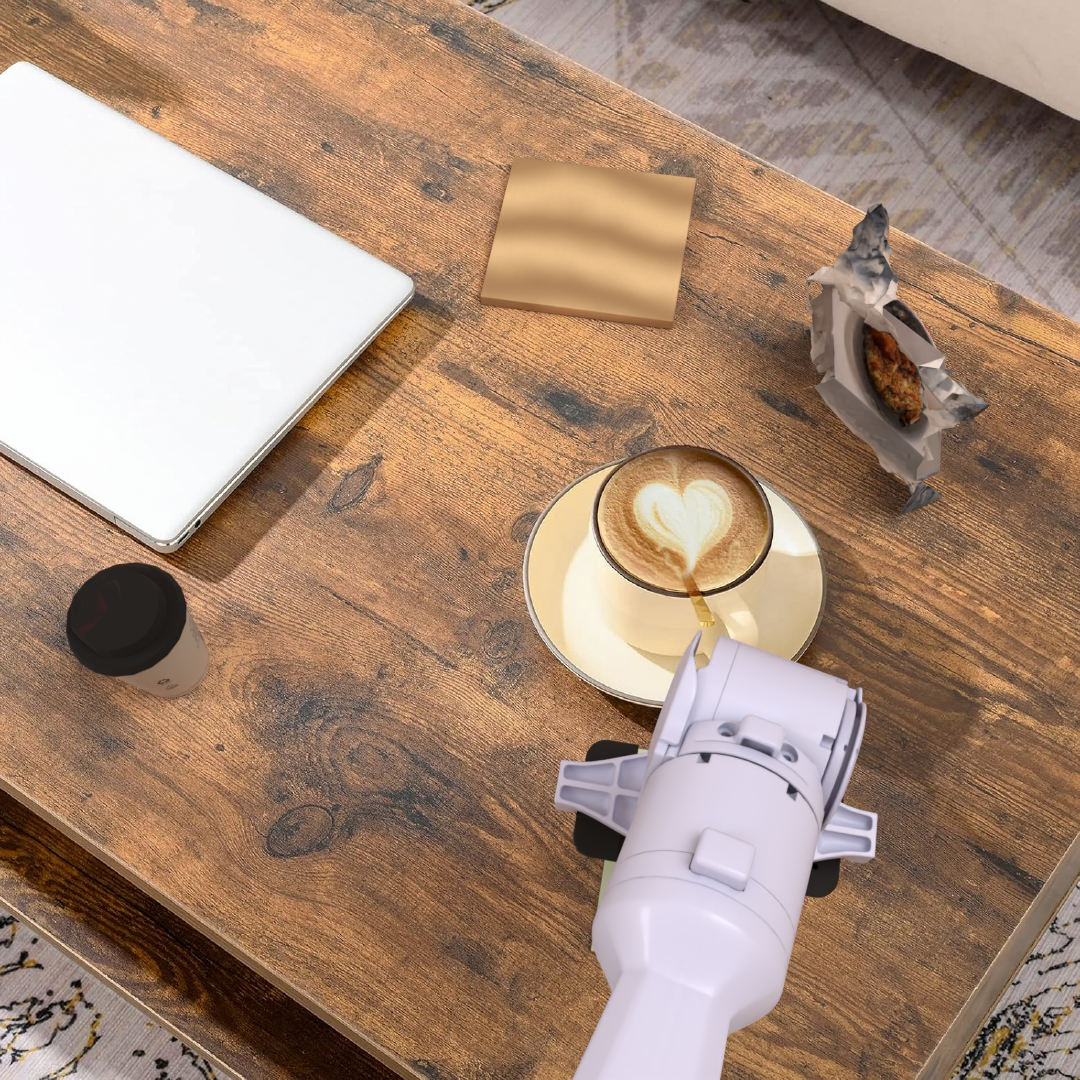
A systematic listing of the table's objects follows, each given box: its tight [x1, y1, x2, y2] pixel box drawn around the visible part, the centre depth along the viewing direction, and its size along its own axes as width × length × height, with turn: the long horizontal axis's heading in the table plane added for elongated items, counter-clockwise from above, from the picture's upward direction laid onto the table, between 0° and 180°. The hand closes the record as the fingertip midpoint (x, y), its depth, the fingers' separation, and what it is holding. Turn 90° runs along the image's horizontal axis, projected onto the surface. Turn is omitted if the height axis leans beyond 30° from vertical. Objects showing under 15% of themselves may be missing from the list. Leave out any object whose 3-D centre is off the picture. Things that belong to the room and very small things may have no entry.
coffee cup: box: [65, 561, 211, 699], centre depth 69 cm, size 7×7×10 cm
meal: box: [801, 202, 993, 516], centre depth 73 cm, size 15×4×13 cm, turn 24°
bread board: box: [479, 156, 697, 330], centre depth 86 cm, size 13×14×1 cm
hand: (696, 840), depth 61 cm, fingers closed on toy figure, 7 cm apart
